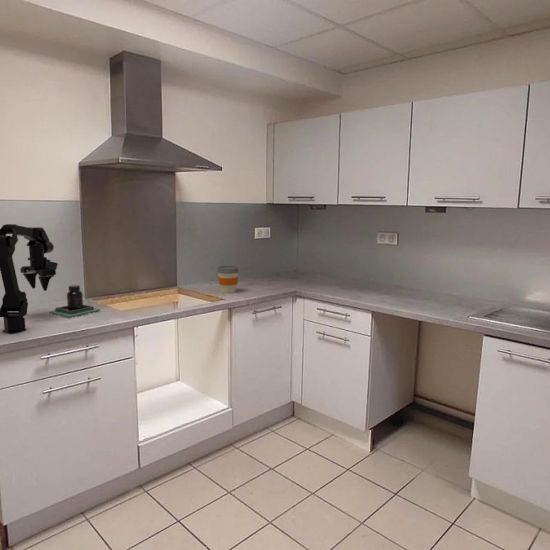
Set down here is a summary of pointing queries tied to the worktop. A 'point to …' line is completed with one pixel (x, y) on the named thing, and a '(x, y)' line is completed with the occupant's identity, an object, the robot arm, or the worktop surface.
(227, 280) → the reusable coffee cup
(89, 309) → the dock board
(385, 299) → the worktop surface
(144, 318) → the worktop surface
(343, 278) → the worktop surface
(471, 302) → the worktop surface
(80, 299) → the supplement bottle
